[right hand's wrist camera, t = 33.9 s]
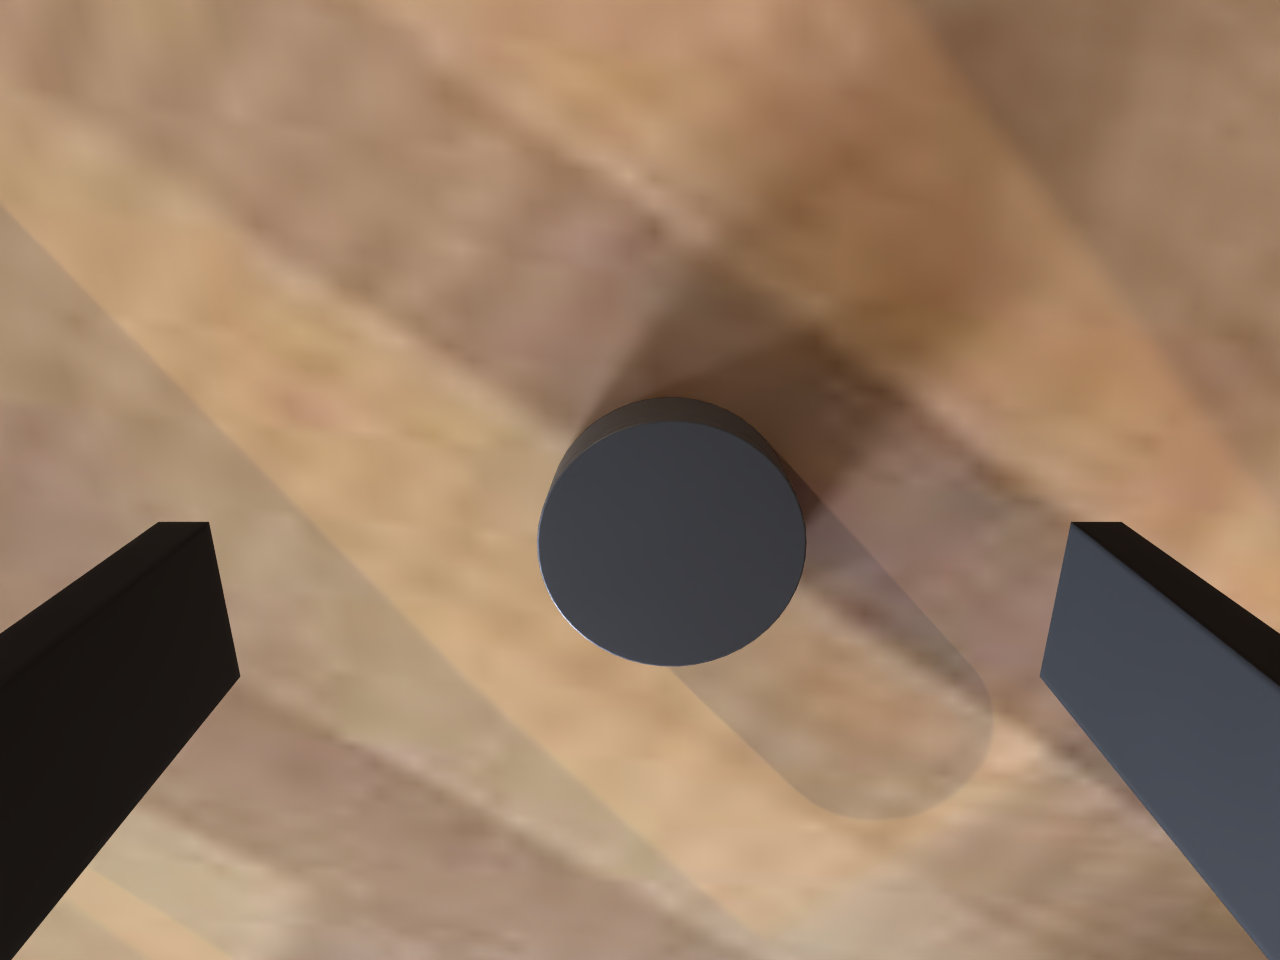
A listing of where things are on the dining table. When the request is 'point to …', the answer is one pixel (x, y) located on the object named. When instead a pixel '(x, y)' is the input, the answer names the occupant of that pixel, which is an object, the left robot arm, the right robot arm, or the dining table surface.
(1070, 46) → the dining table surface
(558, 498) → the lid
